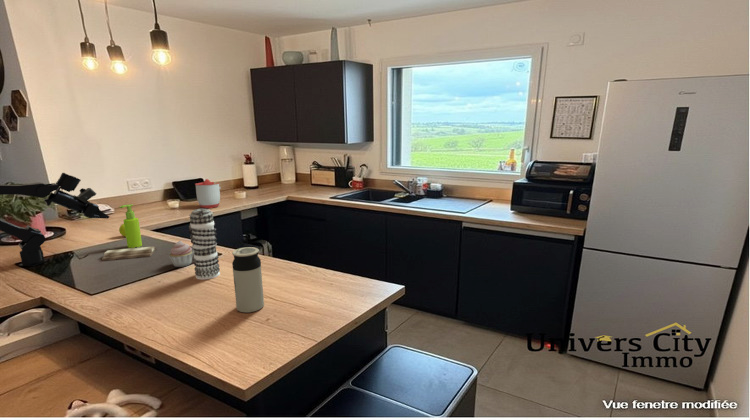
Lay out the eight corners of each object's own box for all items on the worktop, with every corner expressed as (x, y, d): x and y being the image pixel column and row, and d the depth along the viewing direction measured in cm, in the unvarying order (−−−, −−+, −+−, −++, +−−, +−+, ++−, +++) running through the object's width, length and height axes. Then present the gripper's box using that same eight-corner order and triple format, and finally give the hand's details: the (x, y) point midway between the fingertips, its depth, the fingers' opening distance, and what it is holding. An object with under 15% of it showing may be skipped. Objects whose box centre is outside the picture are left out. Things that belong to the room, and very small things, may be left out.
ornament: (139, 234, 198) (136, 216, 196) (129, 238, 191) (126, 219, 189) (127, 234, 198) (124, 215, 196) (116, 238, 192) (113, 219, 189)
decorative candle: (195, 272, 143) (187, 208, 138) (221, 269, 147) (215, 206, 141) (193, 281, 135) (185, 213, 130) (221, 277, 138) (214, 211, 133)
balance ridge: (102, 260, 158) (101, 255, 157) (111, 253, 167) (110, 248, 167) (150, 256, 163) (149, 251, 162) (156, 249, 172) (155, 244, 172)
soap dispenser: (122, 247, 176) (115, 205, 171) (137, 243, 182) (131, 203, 177) (130, 249, 173) (123, 206, 169) (144, 245, 179) (138, 204, 175)
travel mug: (266, 301, 119) (262, 246, 115) (260, 313, 111) (255, 255, 107) (241, 301, 119) (236, 247, 115) (233, 313, 111) (227, 255, 107)
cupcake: (200, 261, 156) (198, 238, 154) (183, 269, 147) (180, 245, 145) (182, 259, 158) (179, 236, 156) (164, 267, 149) (161, 243, 147)
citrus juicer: (228, 205, 272) (225, 178, 267) (206, 210, 257) (203, 180, 253) (214, 203, 280) (212, 176, 276) (192, 207, 265) (189, 179, 261)
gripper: (83, 186, 157) (122, 202, 168) (73, 182, 169) (109, 198, 180) (68, 209, 154) (108, 225, 165) (58, 204, 166) (96, 219, 177)
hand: (105, 216), depth 172 cm, fingers open, 9 cm apart
